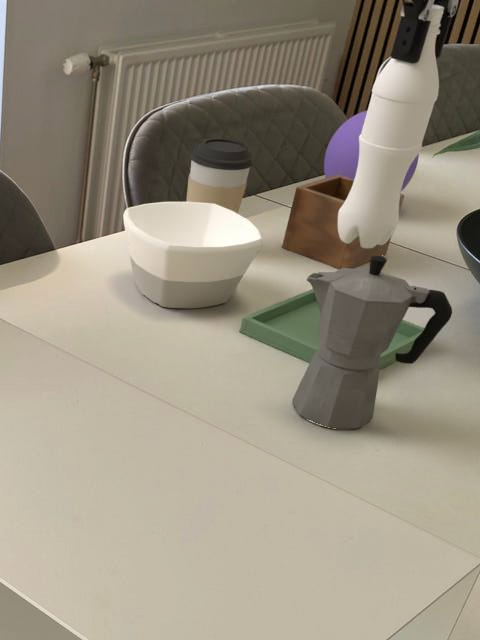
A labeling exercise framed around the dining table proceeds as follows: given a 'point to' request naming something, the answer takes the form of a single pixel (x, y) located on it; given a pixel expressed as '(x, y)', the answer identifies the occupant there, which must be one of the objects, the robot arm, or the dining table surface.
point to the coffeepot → (360, 340)
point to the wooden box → (325, 225)
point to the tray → (311, 329)
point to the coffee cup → (219, 173)
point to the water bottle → (390, 142)
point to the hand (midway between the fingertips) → (415, 56)
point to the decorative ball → (351, 151)
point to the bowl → (189, 252)
